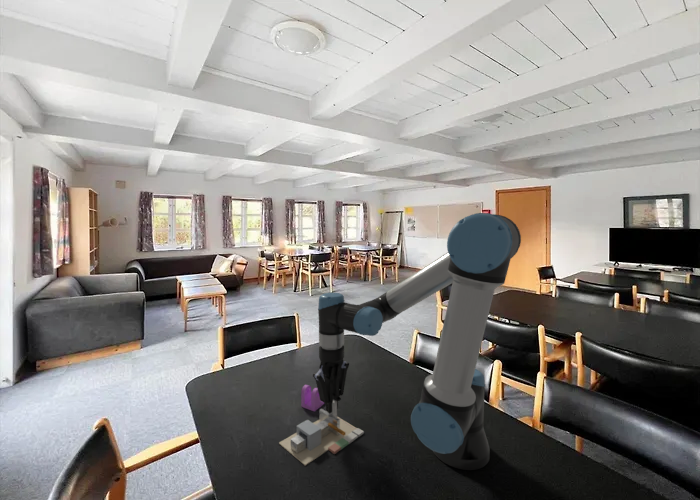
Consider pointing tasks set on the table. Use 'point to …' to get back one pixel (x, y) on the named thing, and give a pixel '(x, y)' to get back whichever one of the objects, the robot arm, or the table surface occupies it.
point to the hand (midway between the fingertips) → (332, 420)
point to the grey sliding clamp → (326, 424)
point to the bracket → (310, 398)
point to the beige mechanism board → (321, 440)
